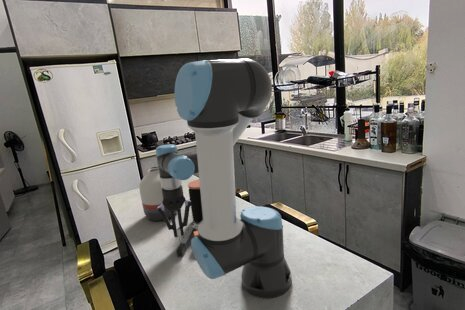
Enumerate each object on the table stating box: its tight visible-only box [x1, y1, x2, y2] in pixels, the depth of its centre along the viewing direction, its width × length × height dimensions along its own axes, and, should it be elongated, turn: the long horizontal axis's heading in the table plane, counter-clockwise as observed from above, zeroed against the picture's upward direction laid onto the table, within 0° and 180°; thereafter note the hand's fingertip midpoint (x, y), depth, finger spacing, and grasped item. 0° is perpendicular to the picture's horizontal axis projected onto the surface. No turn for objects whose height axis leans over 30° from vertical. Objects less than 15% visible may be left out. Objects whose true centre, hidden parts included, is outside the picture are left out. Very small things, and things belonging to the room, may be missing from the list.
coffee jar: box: [187, 178, 203, 223], centre depth 127 cm, size 11×11×18 cm
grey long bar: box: [176, 221, 200, 258], centre depth 111 cm, size 20×5×3 cm, turn 172°
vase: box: [138, 167, 177, 222], centre depth 135 cm, size 17×17×24 cm
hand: (180, 243), depth 109 cm, fingers closed
